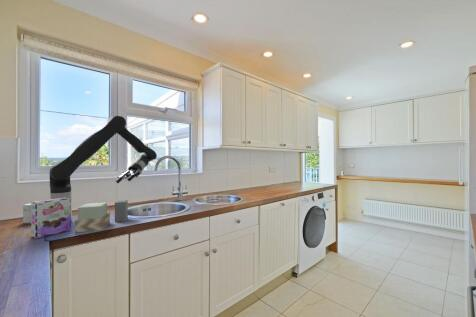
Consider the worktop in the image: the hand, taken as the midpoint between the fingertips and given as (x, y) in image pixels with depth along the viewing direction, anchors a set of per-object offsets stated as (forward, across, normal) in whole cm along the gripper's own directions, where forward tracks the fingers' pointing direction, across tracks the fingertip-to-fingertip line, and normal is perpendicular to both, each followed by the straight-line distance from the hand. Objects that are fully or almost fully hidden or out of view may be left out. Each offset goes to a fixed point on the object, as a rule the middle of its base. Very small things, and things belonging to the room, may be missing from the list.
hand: (122, 181), depth 133 cm
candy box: (+37, -16, +3) cm, 41 cm away
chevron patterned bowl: (+27, -5, +10) cm, 30 cm away
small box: (+24, -47, +4) cm, 53 cm away
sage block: (+25, -4, +5) cm, 25 cm away
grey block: (+15, 0, +17) cm, 23 cm away
